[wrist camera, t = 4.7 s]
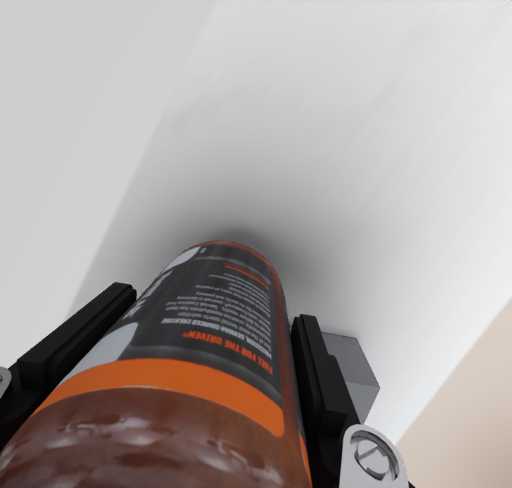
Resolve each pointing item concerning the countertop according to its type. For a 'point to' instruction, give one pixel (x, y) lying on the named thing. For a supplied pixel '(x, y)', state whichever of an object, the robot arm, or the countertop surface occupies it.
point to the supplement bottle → (177, 390)
